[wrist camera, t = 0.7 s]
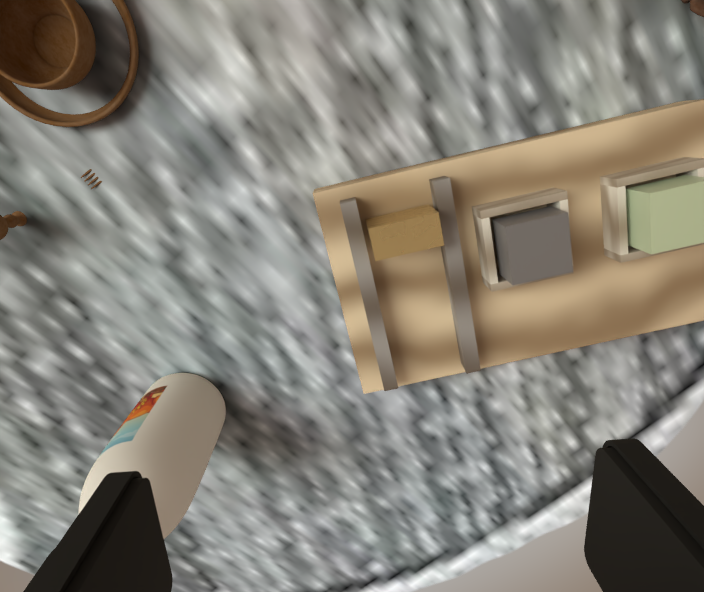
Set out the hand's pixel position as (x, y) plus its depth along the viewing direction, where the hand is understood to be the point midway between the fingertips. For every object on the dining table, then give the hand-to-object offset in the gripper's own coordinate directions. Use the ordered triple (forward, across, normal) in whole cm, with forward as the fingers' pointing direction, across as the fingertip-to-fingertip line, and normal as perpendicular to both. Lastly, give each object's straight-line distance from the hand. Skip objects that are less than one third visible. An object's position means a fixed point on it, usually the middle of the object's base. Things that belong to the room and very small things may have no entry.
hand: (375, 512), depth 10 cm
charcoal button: (+28, -13, +1) cm, 31 cm away
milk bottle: (+33, +16, +16) cm, 40 cm away
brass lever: (+29, -4, 0) cm, 29 cm away
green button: (+28, -23, -1) cm, 36 cm away
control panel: (+32, -14, +3) cm, 35 cm away
